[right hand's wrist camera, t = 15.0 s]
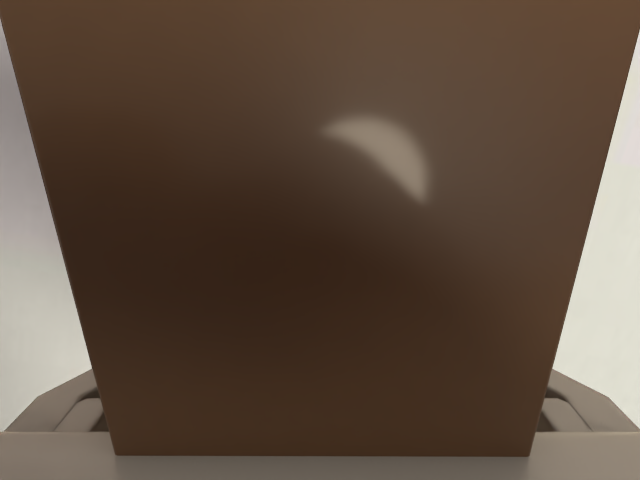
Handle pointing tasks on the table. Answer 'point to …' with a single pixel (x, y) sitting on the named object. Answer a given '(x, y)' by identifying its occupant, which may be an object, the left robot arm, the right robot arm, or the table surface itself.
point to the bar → (321, 211)
